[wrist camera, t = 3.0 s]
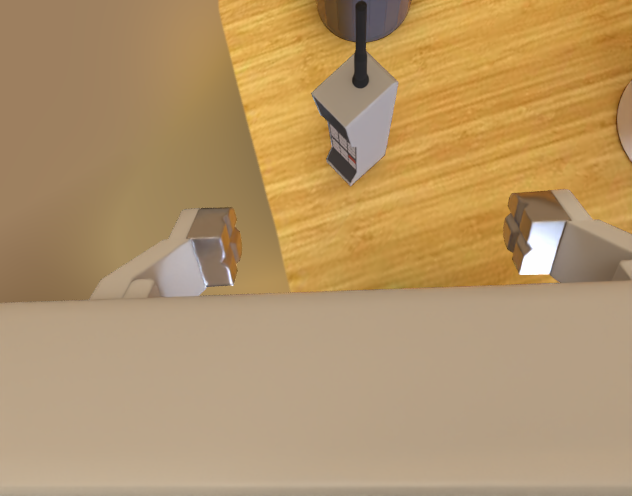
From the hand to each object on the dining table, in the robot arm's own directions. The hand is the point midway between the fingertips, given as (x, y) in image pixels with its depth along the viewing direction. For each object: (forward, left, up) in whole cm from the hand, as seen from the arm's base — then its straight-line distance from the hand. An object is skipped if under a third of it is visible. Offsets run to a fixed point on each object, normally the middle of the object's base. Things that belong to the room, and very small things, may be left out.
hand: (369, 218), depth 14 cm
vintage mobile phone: (+3, -12, -34) cm, 36 cm away
